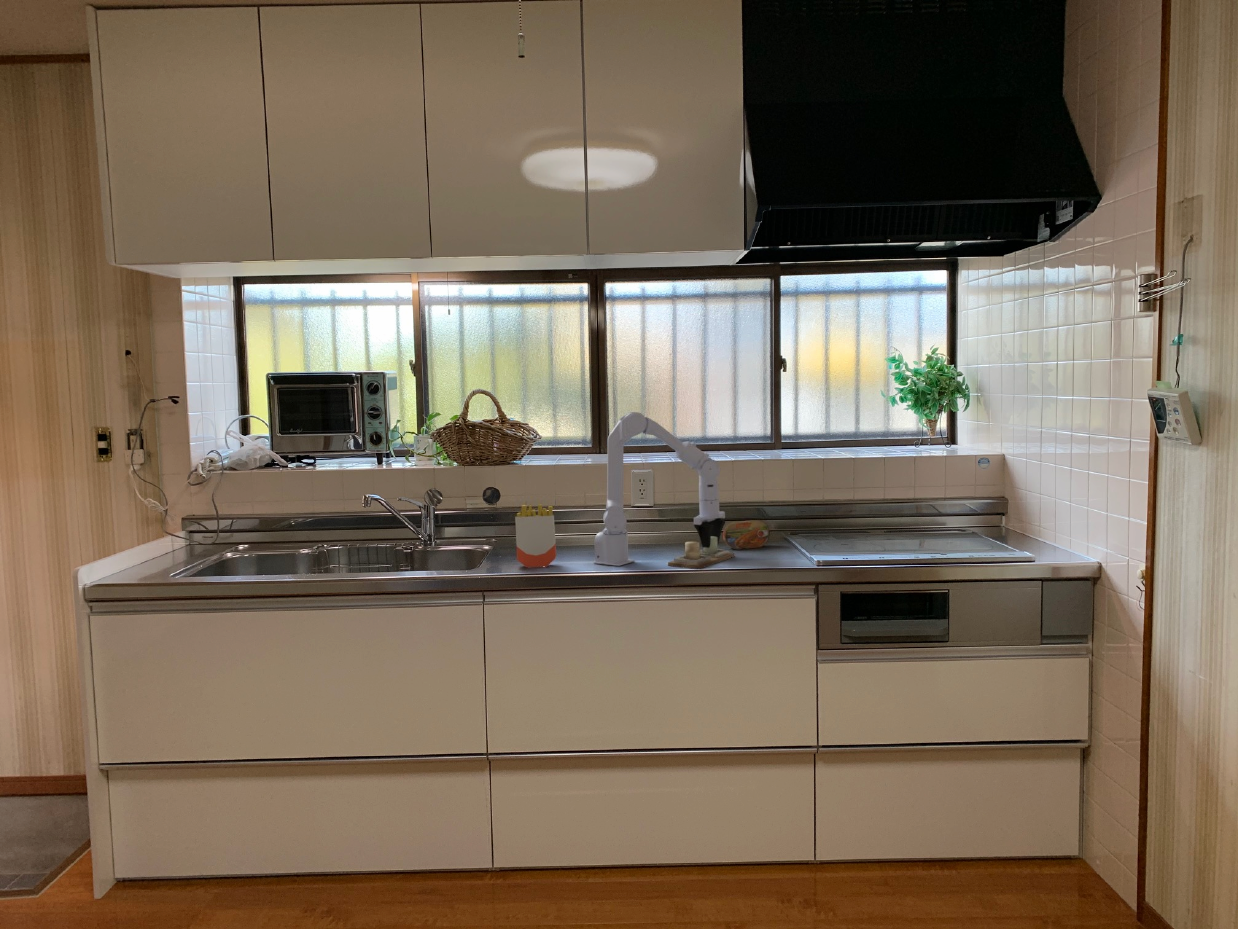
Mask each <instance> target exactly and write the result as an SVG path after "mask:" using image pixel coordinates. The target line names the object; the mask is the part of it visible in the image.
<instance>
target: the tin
mask: <svg viewBox="0 0 1238 929" xmlns="http://www.w3.org/2000/svg"><path fill="white" fill-rule="evenodd" d="M770 535H771V530H770V527H769V525H768V524H767V523H766V522H765V521H763V520H760V519H757V520H756V519H755V520H754V519H753V520H745V521H735V522H734V521H733V522H730V523H728V524H727V525H726V526H724V529H723V532H722V540H723V542H724V544H725V545H726V546H727V547H728V548H731V549H733V550H743V549H742V548H746V549H752V548H753V549H755V548H762V547H764V546H765V545H767V543H768V542H769V540H770V538H771V536H770Z"/></svg>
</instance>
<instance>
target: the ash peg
mask: <svg viewBox="0 0 1238 929" xmlns="http://www.w3.org/2000/svg"><path fill="white" fill-rule="evenodd" d="M684 546H685V548H684V549H685V550H684V553H685V554H684V555H686V559H691V560H698V559H700V550H701V549H700V548H701V546H700V542H699V541H686V542H685V543H684Z"/></svg>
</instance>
